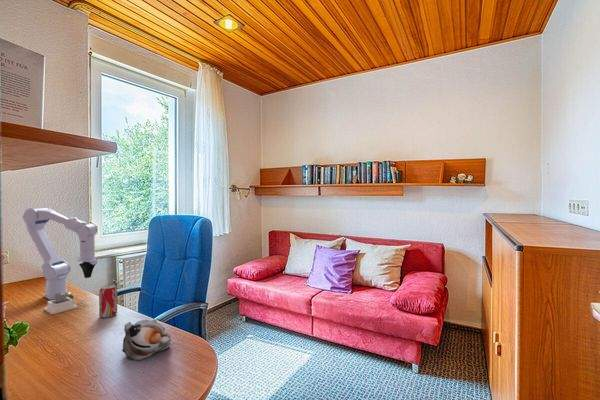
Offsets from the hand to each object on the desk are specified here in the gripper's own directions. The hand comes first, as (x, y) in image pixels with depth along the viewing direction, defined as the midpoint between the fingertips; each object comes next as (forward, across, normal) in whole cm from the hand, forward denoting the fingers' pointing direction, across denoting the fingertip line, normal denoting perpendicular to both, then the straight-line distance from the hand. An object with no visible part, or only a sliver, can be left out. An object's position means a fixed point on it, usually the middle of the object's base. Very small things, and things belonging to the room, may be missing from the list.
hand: (87, 277), depth 146 cm
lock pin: (+9, +1, -9) cm, 13 cm away
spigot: (+9, +7, -13) cm, 17 cm away
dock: (+9, +5, -12) cm, 16 cm away
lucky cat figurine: (+10, +73, -13) cm, 75 cm away
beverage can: (+10, +32, -6) cm, 34 cm away
